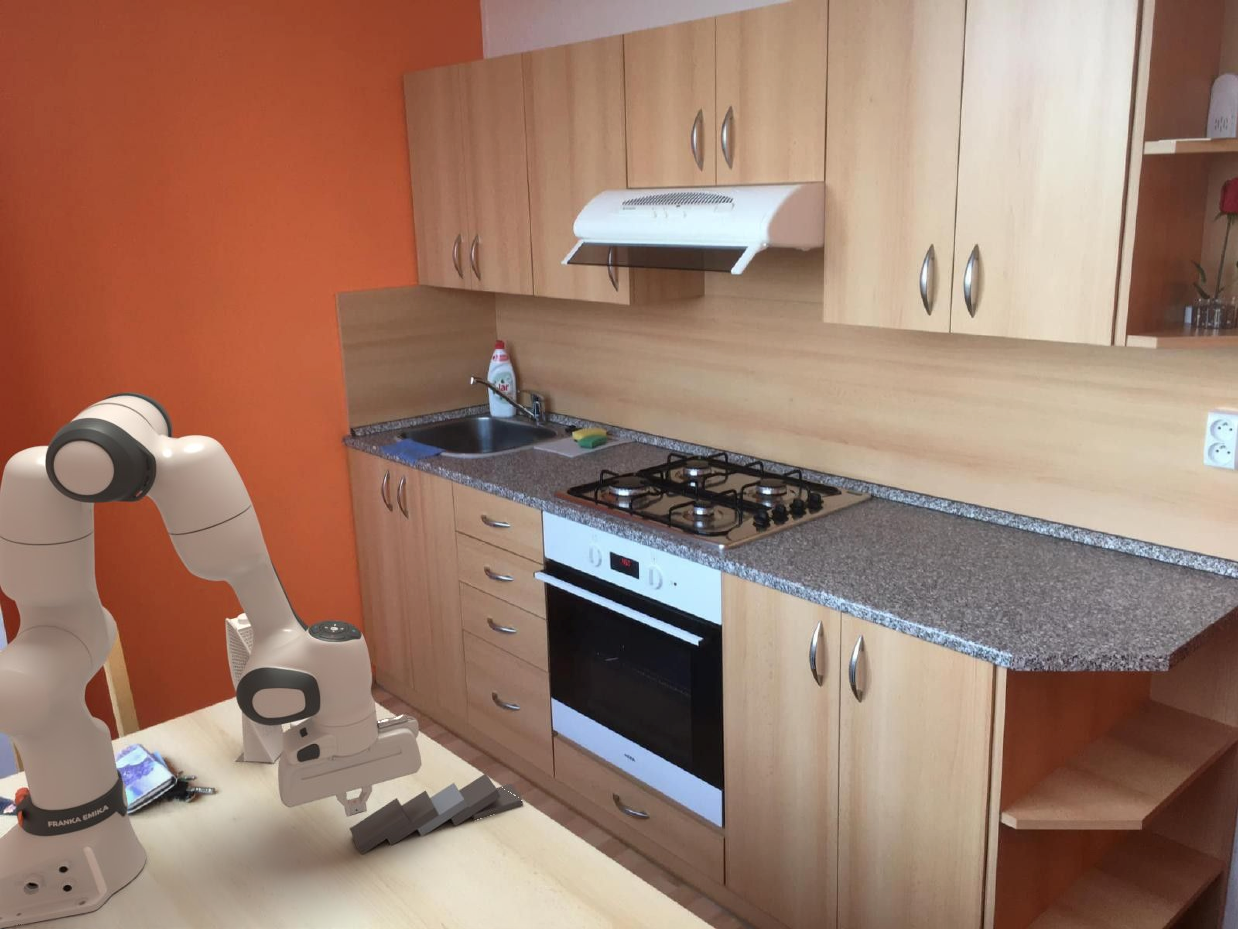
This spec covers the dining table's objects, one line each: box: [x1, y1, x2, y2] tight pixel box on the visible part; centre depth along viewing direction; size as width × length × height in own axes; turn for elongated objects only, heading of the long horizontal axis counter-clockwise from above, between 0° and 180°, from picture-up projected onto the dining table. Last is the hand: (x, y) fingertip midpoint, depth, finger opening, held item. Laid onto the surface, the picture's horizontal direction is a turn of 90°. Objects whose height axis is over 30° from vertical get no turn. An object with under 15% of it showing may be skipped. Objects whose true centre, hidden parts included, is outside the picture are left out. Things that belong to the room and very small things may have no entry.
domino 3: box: [417, 782, 468, 837], centre depth 159 cm, size 2×5×8 cm
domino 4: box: [450, 773, 501, 827], centre depth 161 cm, size 2×5×8 cm
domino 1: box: [349, 798, 410, 855], centre depth 155 cm, size 2×5×8 cm
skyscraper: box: [224, 612, 285, 765], centre depth 175 cm, size 8×8×28 cm
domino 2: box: [386, 789, 439, 846], centre depth 157 cm, size 2×5×8 cm
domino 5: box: [471, 783, 524, 822], centre depth 163 cm, size 2×5×8 cm
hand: (356, 812), depth 153 cm, fingers closed
